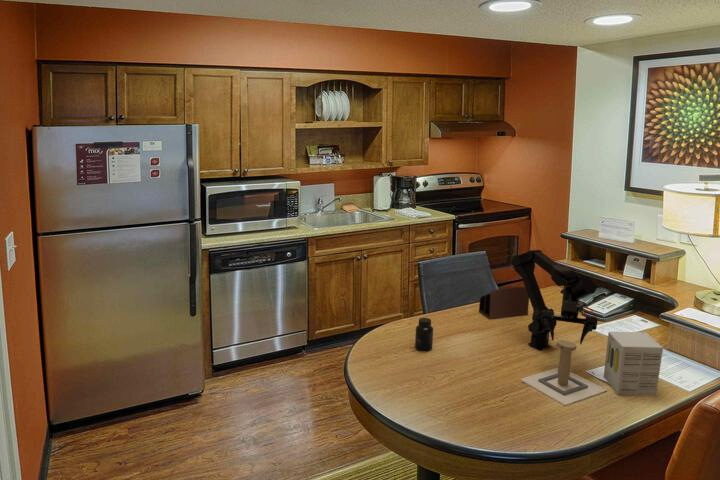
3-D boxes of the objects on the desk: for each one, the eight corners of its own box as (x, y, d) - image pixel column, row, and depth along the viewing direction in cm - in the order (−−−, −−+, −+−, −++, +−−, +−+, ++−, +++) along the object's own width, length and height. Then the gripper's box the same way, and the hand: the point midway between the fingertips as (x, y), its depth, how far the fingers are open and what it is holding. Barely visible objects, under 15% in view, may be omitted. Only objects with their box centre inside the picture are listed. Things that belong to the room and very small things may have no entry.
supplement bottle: (412, 350, 228) (413, 321, 225) (417, 343, 234) (418, 315, 231) (429, 353, 225) (431, 324, 223) (434, 346, 232) (435, 318, 229)
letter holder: (528, 315, 266) (530, 286, 263) (489, 320, 260) (491, 289, 257) (516, 308, 275) (518, 279, 272) (478, 312, 269) (480, 283, 266)
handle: (566, 390, 197) (570, 348, 193) (550, 382, 202) (554, 342, 198) (575, 386, 199) (579, 345, 196) (559, 378, 204) (562, 338, 201)
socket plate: (560, 368, 214) (560, 364, 213) (606, 391, 197) (607, 388, 197) (519, 380, 204) (520, 376, 204) (564, 406, 187) (565, 402, 187)
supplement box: (602, 376, 207) (607, 330, 203) (640, 377, 207) (646, 331, 203) (617, 395, 195) (623, 346, 190) (657, 396, 194) (664, 347, 190)
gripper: (543, 288, 209) (538, 328, 201) (600, 295, 202) (597, 336, 195) (543, 302, 218) (538, 341, 210) (597, 309, 211) (594, 349, 204)
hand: (566, 341), depth 205 cm, fingers open, 9 cm apart
